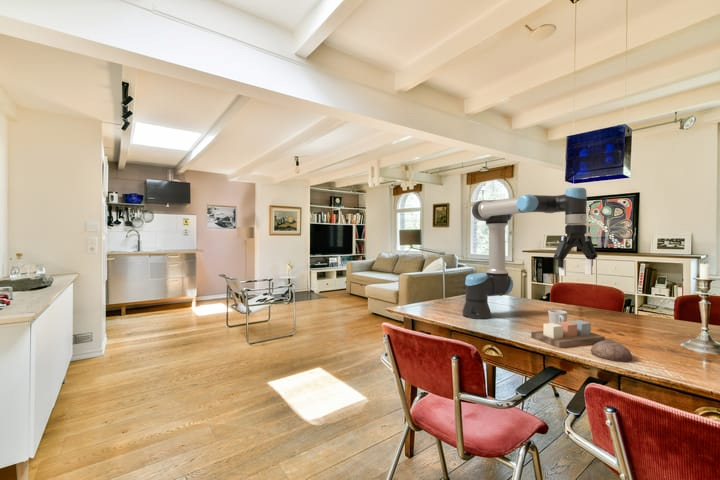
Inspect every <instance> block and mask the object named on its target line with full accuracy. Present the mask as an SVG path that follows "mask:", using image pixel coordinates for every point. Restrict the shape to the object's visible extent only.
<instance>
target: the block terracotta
mask: <svg viewBox="0 0 720 480" xmlns="http://www.w3.org/2000/svg"><path fill="white" fill-rule="evenodd" d="M557 324H558V325H561V326H563V335H564V336H567V337H572V336H577V324H573V323H571V321H570V322H569V321H567V322H557Z"/></svg>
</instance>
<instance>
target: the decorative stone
mask: <svg viewBox="0 0 720 480" xmlns="http://www.w3.org/2000/svg"><path fill="white" fill-rule="evenodd" d="M590 353H591V354H592V355H593V356H594V357H596V358H599V359H603V360H606V361H611V362H618V363H627V362H630V361H632V360H633V355H632V352H631V351H630V350H629V349H628V348H627V347H626V346H625V345H624V344H621V343H620V342H616V341H613V340H605V341H600V342H598V343H595V344H592V346H591V348H590Z"/></svg>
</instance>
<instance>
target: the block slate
mask: <svg viewBox="0 0 720 480" xmlns="http://www.w3.org/2000/svg"><path fill="white" fill-rule="evenodd" d="M570 323H573V324H577V334H579V335H589V334H591V333H592V331H591V326H592V325H591V324H592V323H591V322H588V321H584V320H582V319H579V320H578V319H577V320H571V321H570Z"/></svg>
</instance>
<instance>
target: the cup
mask: <svg viewBox="0 0 720 480" xmlns="http://www.w3.org/2000/svg"><path fill="white" fill-rule="evenodd" d="M547 311H548V320H549V321H548V323H555V324H557V322H568V314H569V313H568V312H567V311H566V310H561V309H549V310H547Z"/></svg>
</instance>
